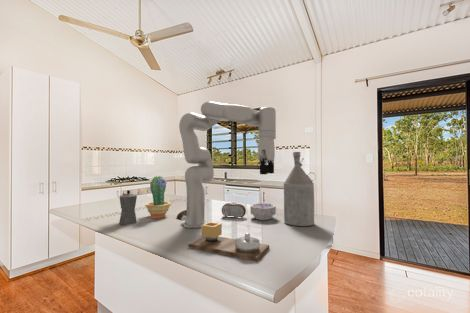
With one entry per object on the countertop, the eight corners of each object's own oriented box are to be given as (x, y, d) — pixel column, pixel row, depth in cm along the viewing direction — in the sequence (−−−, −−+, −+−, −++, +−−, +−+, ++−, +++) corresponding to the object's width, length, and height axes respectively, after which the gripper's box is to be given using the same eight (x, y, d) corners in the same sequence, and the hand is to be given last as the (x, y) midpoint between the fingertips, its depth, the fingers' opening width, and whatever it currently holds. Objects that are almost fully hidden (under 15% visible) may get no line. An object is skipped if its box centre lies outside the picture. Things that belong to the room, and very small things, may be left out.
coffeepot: (141, 223, 126) (141, 190, 127) (123, 227, 120) (123, 192, 120) (131, 218, 138) (131, 188, 138) (113, 221, 131) (114, 189, 131)
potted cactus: (143, 220, 134) (144, 177, 135) (146, 214, 149) (146, 175, 150) (171, 218, 138) (171, 176, 139) (171, 213, 153) (171, 175, 154)
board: (188, 247, 91) (188, 243, 91) (206, 237, 103) (206, 234, 103) (257, 261, 78) (256, 257, 78) (269, 248, 90) (269, 245, 90)
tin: (246, 217, 141) (246, 203, 141) (244, 218, 138) (244, 204, 138) (222, 216, 145) (222, 202, 145) (220, 217, 142) (221, 203, 142)
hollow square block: (201, 236, 94) (201, 225, 94) (209, 232, 99) (209, 221, 100) (213, 238, 91) (214, 227, 92) (221, 234, 97) (221, 223, 97)
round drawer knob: (203, 241, 94) (203, 230, 94) (209, 237, 99) (209, 227, 99) (213, 243, 92) (213, 232, 92) (219, 239, 96) (219, 228, 97)
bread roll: (189, 214, 150) (189, 207, 150) (202, 217, 142) (202, 209, 142) (172, 218, 140) (172, 210, 140) (185, 221, 132) (185, 213, 132)
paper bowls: (247, 220, 134) (247, 206, 134) (253, 214, 149) (253, 202, 149) (274, 222, 130) (274, 208, 130) (277, 216, 144) (277, 203, 144)
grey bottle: (316, 228, 118) (315, 151, 120) (282, 225, 124) (281, 151, 125) (316, 222, 130) (315, 152, 131) (285, 219, 136) (284, 152, 137)
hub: (231, 250, 84) (231, 234, 84) (241, 243, 92) (241, 228, 92) (254, 255, 80) (254, 238, 80) (262, 246, 88) (262, 231, 88)
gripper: (265, 137, 112) (265, 172, 112) (252, 133, 97) (252, 174, 96) (280, 137, 109) (280, 173, 109) (269, 132, 94) (269, 175, 93)
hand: (267, 173), depth 103 cm, fingers open, 9 cm apart
